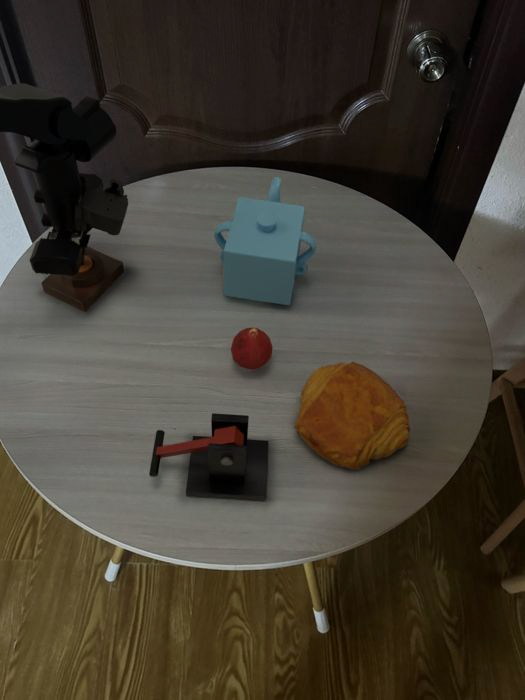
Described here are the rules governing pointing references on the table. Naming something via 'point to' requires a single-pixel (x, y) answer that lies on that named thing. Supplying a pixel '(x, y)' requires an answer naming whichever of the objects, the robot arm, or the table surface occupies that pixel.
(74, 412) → the table surface
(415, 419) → the table surface
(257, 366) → the onion
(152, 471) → the lever
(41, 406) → the table surface
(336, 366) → the croissant
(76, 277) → the button block
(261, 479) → the bracket
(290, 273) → the teapot
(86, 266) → the button
